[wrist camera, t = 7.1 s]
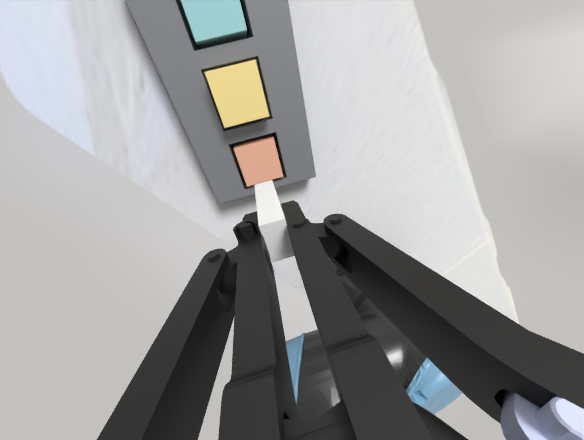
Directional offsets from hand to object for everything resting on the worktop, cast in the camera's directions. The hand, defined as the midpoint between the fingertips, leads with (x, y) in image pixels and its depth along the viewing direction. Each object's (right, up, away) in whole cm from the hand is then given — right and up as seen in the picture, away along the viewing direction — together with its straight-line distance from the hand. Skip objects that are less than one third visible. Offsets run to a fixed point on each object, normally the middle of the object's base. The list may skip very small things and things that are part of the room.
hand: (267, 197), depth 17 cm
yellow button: (-4, +12, +6) cm, 14 cm away
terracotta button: (-3, +7, +11) cm, 13 cm away
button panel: (-4, +13, +8) cm, 16 cm away
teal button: (-6, +19, +3) cm, 20 cm away
